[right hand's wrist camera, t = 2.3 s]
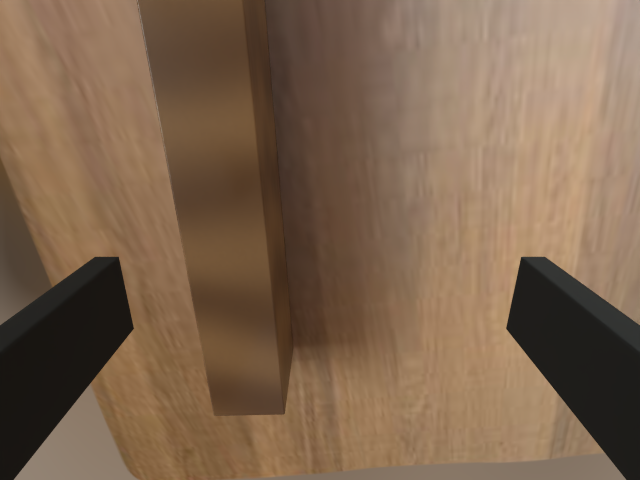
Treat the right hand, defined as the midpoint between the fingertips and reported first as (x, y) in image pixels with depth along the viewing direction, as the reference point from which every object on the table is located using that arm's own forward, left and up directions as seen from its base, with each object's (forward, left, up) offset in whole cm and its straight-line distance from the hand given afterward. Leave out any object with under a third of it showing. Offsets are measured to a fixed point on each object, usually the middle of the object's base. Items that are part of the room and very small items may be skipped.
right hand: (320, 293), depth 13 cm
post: (+16, +6, -16) cm, 24 cm away
